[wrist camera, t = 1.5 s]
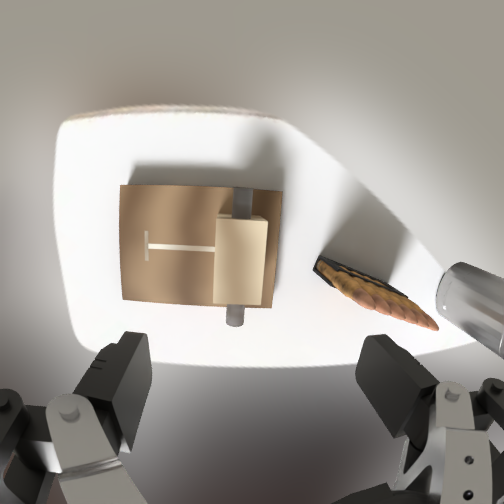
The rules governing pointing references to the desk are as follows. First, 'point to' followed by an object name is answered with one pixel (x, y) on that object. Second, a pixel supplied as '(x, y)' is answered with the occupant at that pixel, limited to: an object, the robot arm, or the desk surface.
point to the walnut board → (183, 241)
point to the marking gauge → (239, 257)
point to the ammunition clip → (372, 293)
